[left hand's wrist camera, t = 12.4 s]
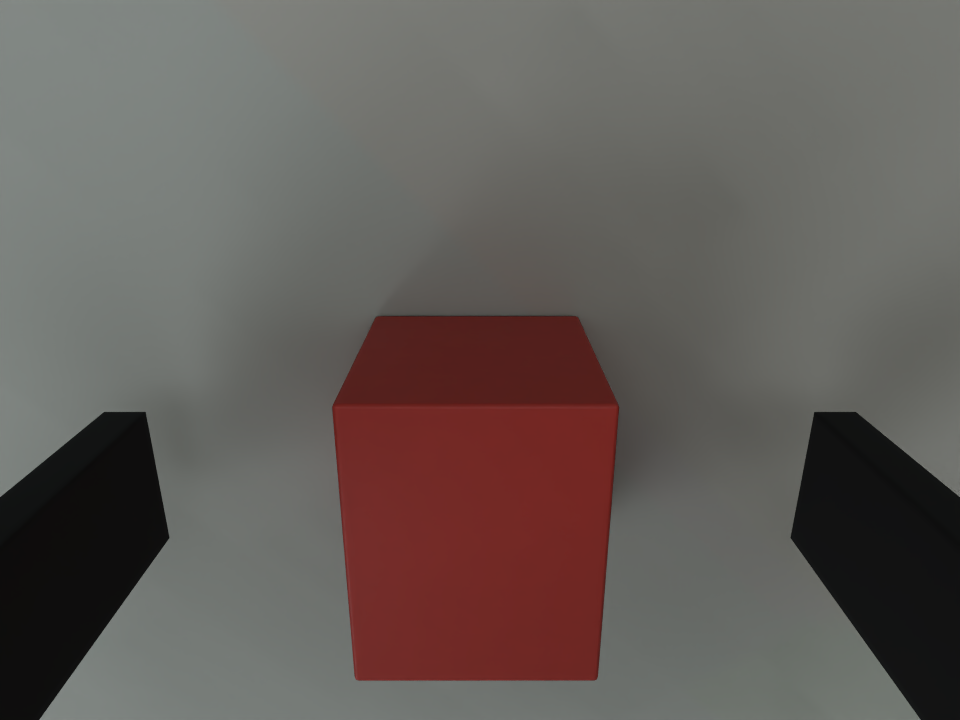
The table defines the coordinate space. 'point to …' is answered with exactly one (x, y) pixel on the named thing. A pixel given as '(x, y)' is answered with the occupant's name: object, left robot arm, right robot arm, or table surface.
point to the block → (476, 498)
